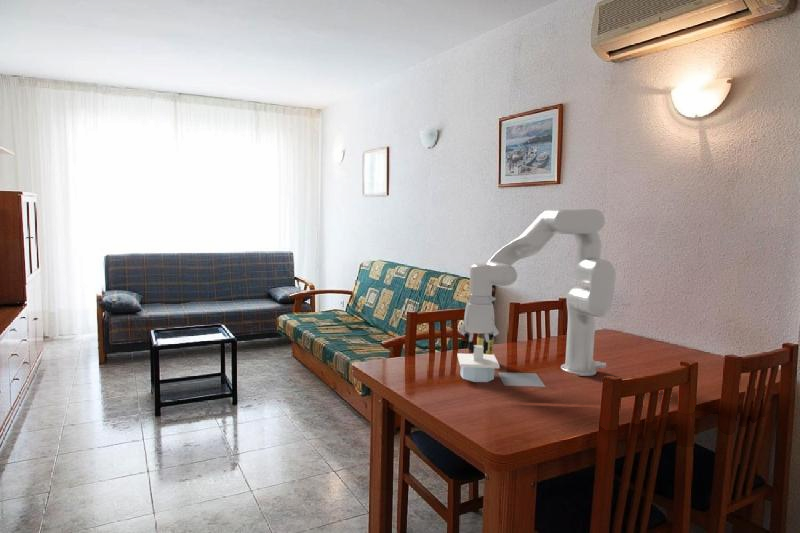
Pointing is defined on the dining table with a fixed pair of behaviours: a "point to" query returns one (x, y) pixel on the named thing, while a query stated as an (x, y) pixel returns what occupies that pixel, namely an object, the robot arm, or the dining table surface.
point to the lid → (477, 359)
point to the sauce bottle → (490, 343)
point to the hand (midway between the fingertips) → (478, 351)
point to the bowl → (477, 374)
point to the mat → (521, 379)
